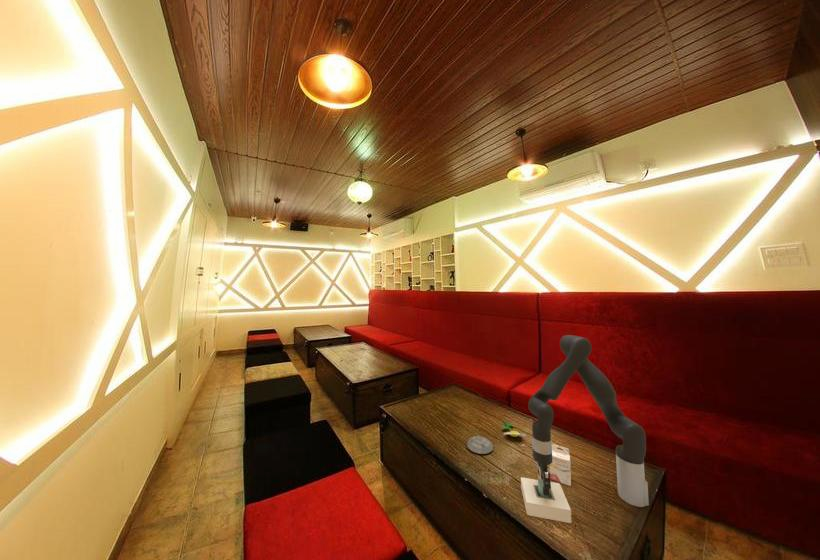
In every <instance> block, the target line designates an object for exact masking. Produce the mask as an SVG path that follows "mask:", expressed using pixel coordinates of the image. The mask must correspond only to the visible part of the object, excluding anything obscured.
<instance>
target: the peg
mask: <svg viewBox="0 0 820 560" xmlns="http://www.w3.org/2000/svg"><path fill="white" fill-rule="evenodd" d="M542 476H543V475H542ZM537 480H538V492H539V496H540V497H546V498H549V496H544V494H543V485H542V479H541V478H540V472H539V473H538V472H537ZM546 483H547V482H546Z"/></svg>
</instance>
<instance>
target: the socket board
mask: <svg viewBox="0 0 820 560" xmlns="http://www.w3.org/2000/svg"><path fill="white" fill-rule="evenodd" d="M520 489H521V494H522V498H523V504H524V508H525V513H526V515H527V516H531V517H536V518H540V519H547V520H551V521H557V522H560V523H561V522H563V523H568V524H572V510H571V509H572V508H571V507H570V504H569V502H568V500H567V498H566V494H565V492H564V491H563V487H562V486H561V484H560V482H555V481H551V489H549V498H546V497H540V496H539V492H538V479H533V478H527V477H522V476H521V477H520Z"/></svg>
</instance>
